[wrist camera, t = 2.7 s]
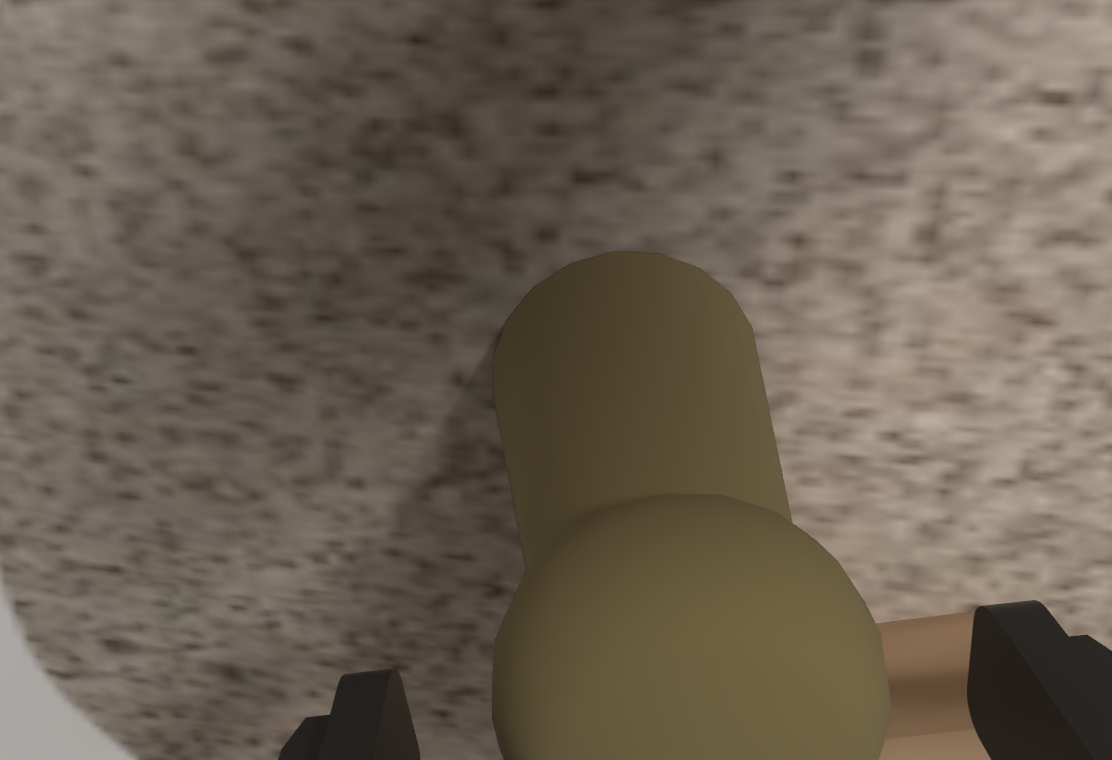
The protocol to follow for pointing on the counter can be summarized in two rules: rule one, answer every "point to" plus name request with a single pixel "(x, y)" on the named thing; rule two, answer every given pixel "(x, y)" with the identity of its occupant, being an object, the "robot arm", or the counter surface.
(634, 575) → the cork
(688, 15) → the counter surface
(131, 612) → the counter surface
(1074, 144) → the counter surface
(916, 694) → the walnut block
